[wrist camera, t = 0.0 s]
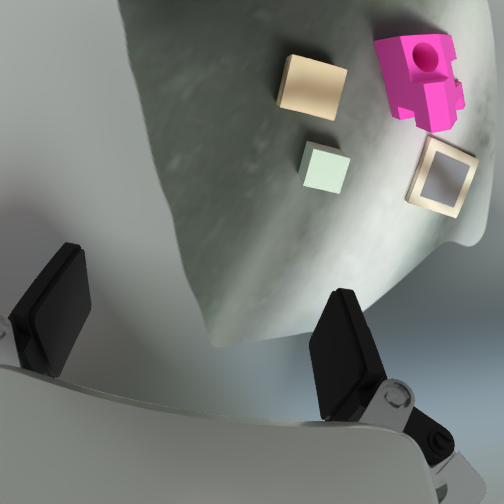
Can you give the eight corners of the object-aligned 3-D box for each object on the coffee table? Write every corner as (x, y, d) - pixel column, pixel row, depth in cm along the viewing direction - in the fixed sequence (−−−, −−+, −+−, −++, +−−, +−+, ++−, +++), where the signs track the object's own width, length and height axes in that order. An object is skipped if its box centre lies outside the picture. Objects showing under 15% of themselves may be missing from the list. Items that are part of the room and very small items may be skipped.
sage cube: (306, 140, 37) (313, 148, 33) (340, 149, 38) (350, 158, 34) (297, 173, 39) (303, 185, 36) (330, 181, 40) (339, 193, 36)
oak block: (286, 57, 32) (292, 54, 27) (335, 70, 32) (347, 70, 28) (275, 103, 35) (279, 107, 30) (323, 114, 35) (334, 120, 31)
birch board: (427, 135, 36) (431, 137, 35) (475, 158, 37) (479, 160, 36) (405, 199, 41) (408, 203, 40) (453, 215, 42) (456, 218, 41)
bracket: (391, 116, 35) (431, 133, 26) (373, 41, 30) (411, 34, 21) (461, 104, 33) (508, 120, 24) (447, 35, 28) (495, 34, 19)
